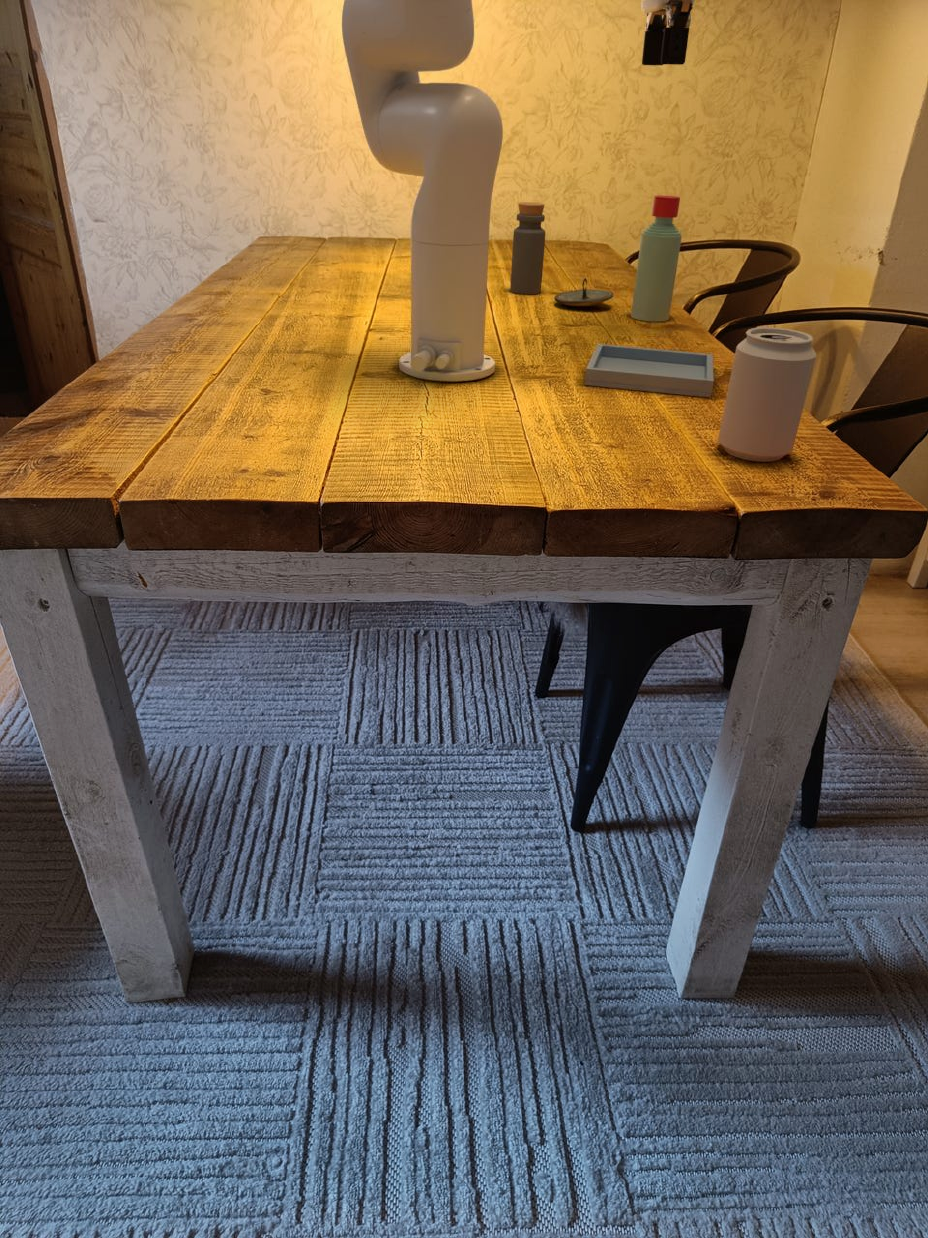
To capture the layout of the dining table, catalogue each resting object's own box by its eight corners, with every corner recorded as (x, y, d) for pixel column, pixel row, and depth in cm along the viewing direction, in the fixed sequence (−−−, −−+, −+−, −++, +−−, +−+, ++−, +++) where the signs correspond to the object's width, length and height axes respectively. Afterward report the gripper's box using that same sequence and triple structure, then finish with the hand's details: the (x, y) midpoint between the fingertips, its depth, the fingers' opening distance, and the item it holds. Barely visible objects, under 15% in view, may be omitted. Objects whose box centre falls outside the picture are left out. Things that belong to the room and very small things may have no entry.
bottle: (504, 291, 156) (510, 203, 148) (517, 287, 161) (523, 200, 153) (533, 295, 154) (540, 205, 146) (545, 291, 158) (552, 203, 151)
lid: (618, 319, 146) (627, 289, 144) (571, 306, 141) (580, 276, 139) (588, 309, 154) (596, 281, 152) (543, 297, 150) (551, 268, 148)
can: (776, 439, 90) (803, 324, 83) (802, 465, 83) (834, 342, 77) (707, 438, 89) (730, 322, 83) (728, 463, 83) (754, 340, 77)
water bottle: (668, 322, 138) (687, 202, 129) (629, 319, 139) (645, 199, 130) (669, 315, 143) (687, 198, 134) (632, 312, 145) (647, 196, 135)
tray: (710, 397, 102) (713, 380, 101) (584, 385, 105) (586, 368, 104) (710, 369, 114) (712, 354, 112) (595, 358, 116) (597, 343, 115)
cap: (676, 218, 131) (679, 198, 130) (650, 216, 132) (653, 196, 130) (677, 215, 134) (680, 196, 133) (652, 213, 135) (654, 194, 134)
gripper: (635, -87, 113) (621, 65, 122) (671, -111, 98) (652, 63, 108) (689, -86, 113) (671, 65, 123) (733, -109, 99) (708, 64, 108)
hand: (662, 64), depth 115 cm, fingers open, 9 cm apart
